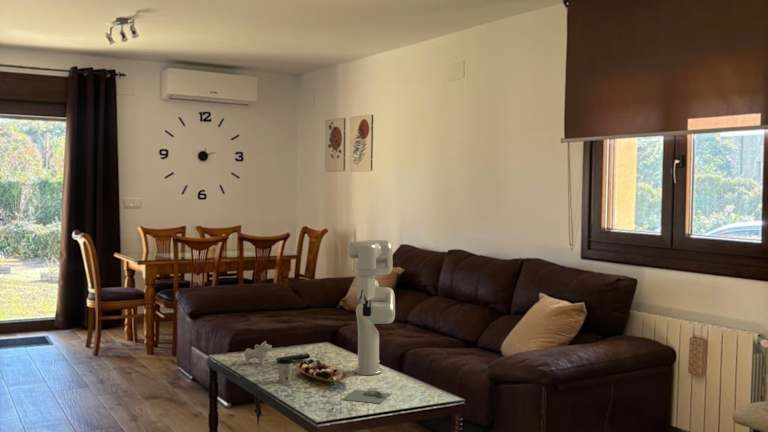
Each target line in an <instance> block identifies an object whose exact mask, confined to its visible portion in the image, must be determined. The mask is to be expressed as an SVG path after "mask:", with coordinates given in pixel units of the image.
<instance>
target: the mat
mask: <svg viewBox="0 0 768 432" xmlns="http://www.w3.org/2000/svg"><path fill="white" fill-rule="evenodd" d="M384 393H385V398H381V397H379V396H378V395H367V390H360V389H353V391H351V392H350V393H349V394H347V395H345V396H344V397H343V398H342V399H341V401H348V402H358V403H366V404H367V403H368V404H375V405H376V404H377V405H381V404H382V403H383V402H384V401H386V400H387V399H388V398H389V397H390V396H391V395H392V393H390V392H384Z"/></svg>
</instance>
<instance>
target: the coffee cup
mask: <svg viewBox="0 0 768 432" xmlns="http://www.w3.org/2000/svg"><path fill="white" fill-rule="evenodd" d="M293 364H294V360H293V359H292V358H291V357H289V356H288V357H287V356H283V357H280V358H279V359H278V360H277V367H278V376H279V382H280V383H281V384H289V383H291V382H292V377H293V376H292V373H293V367H294V366H293Z"/></svg>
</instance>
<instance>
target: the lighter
mask: <svg viewBox="0 0 768 432" xmlns="http://www.w3.org/2000/svg"><path fill="white" fill-rule="evenodd" d="M366 391H367V395H378V396H379V397H381V398H385V393H386V392H383V391H382V390H379V389H378V387H368V388H367V389H366Z"/></svg>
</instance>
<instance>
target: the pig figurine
mask: <svg viewBox="0 0 768 432" xmlns="http://www.w3.org/2000/svg"><path fill="white" fill-rule="evenodd" d="M272 348H273V345H272V344H269V343H267V340H265V341H263V342H262V343H261V344H255V345H254V348H253V349H252V348H245V349H244V357H245V361H246V362H245V363H246V366H250V363H251V362H250V360H252V359H258V360H259V361H260V365H261V366H264V365H265V364H264V359H265V358H266V357H267V355H268V354H269V353H268V352H269V351H271V350H272Z"/></svg>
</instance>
